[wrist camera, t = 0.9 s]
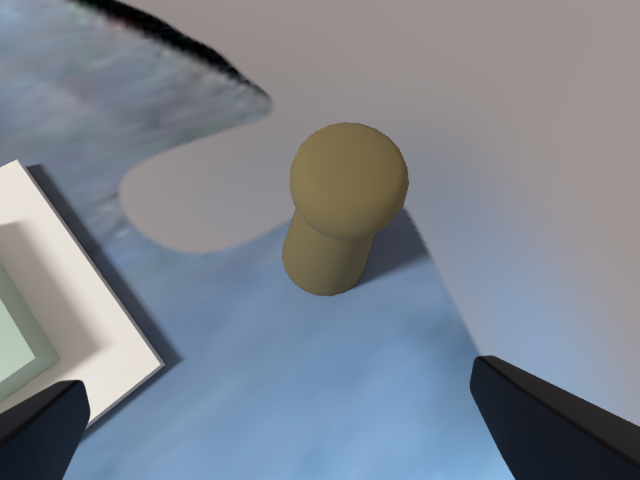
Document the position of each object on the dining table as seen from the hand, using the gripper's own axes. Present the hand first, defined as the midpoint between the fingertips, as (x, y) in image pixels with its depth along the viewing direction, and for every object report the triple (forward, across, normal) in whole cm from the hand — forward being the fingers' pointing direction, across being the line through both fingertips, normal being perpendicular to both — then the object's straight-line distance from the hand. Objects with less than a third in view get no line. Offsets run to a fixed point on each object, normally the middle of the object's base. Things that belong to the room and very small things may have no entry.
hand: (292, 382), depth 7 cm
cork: (+15, -3, +2) cm, 16 cm away
